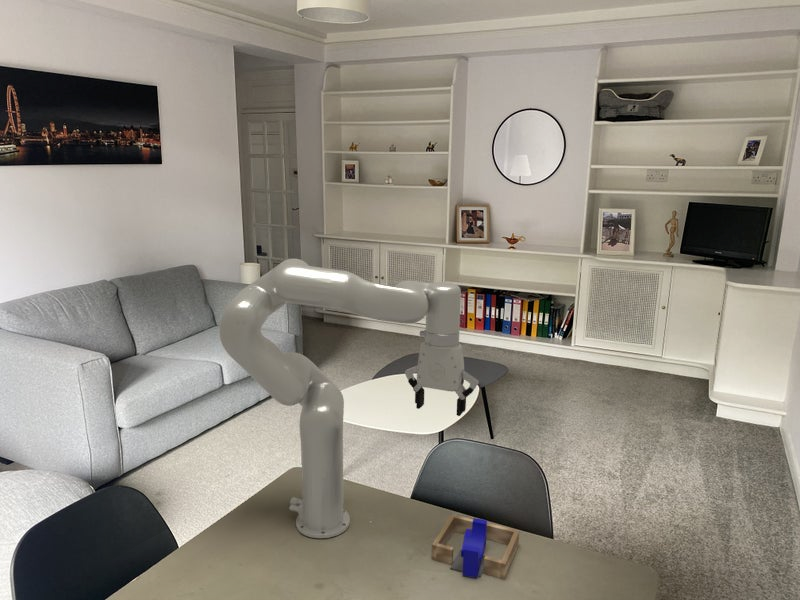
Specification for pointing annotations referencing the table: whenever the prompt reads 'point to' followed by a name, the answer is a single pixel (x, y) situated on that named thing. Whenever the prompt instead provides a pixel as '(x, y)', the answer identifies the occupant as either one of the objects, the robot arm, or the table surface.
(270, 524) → the table surface
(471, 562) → the blue stepped block
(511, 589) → the table surface
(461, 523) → the walled box
